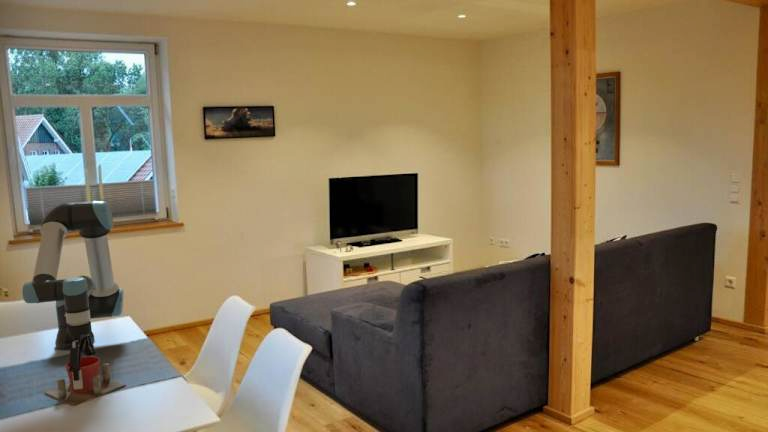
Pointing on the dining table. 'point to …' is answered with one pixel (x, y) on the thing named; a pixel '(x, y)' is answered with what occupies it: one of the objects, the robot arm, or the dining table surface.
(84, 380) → the flower pot
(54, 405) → the dining table surface
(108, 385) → the plant stand
